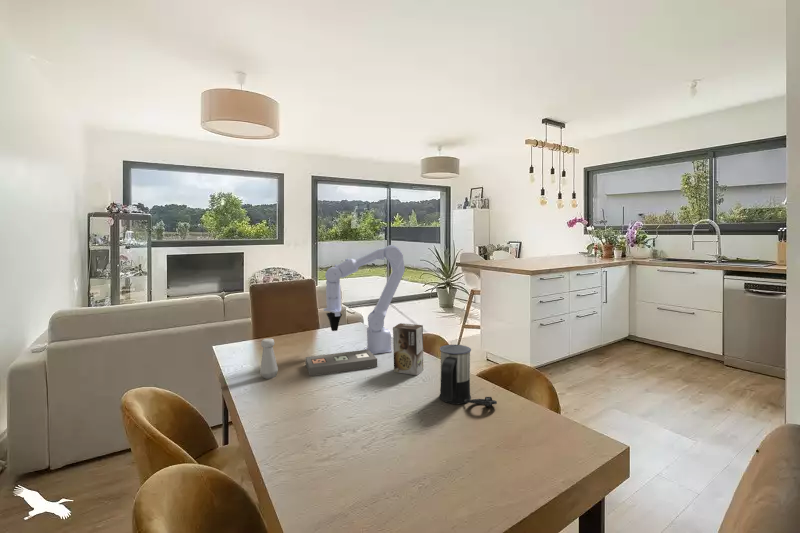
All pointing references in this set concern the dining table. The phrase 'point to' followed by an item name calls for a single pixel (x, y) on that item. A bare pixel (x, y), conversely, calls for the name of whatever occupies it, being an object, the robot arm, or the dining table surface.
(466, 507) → the dining table surface
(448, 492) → the dining table surface
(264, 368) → the salt shaker
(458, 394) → the milk frother
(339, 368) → the button board
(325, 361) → the button three
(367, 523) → the dining table surface
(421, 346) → the printed cardboard box
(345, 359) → the button two
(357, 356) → the button one
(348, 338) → the dining table surface
